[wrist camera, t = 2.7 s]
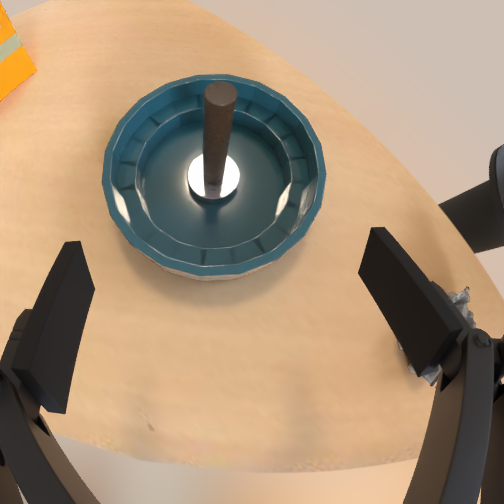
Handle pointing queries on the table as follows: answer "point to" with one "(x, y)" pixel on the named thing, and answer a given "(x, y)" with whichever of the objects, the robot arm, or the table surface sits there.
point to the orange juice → (12, 57)
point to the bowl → (222, 214)
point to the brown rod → (215, 147)
